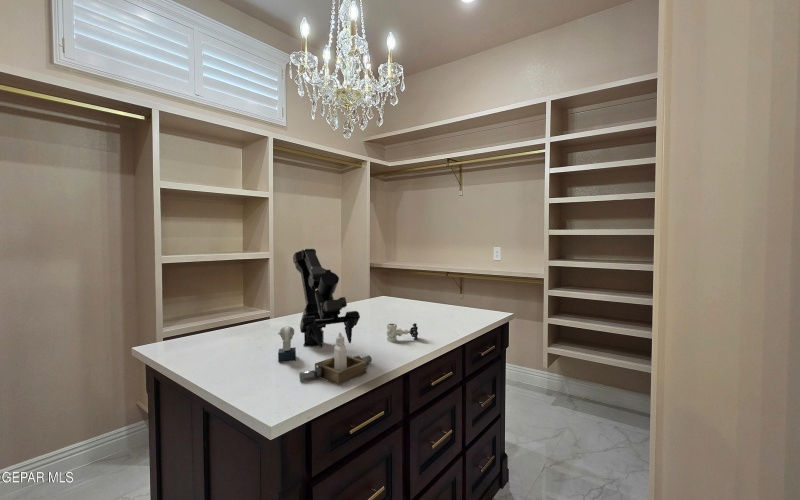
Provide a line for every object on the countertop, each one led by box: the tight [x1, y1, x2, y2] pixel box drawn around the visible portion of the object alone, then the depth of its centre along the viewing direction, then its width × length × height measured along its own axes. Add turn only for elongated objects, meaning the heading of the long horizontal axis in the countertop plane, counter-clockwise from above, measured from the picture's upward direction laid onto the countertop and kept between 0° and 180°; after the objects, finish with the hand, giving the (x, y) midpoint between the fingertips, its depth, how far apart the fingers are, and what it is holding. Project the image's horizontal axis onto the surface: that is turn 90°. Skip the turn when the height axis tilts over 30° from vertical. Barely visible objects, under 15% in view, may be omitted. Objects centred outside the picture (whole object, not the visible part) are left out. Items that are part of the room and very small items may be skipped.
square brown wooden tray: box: [314, 355, 368, 386], centre depth 106 cm, size 11×11×4 cm
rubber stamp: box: [277, 325, 297, 363], centre depth 118 cm, size 6×8×11 cm
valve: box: [386, 322, 419, 343], centre depth 139 cm, size 7×7×12 cm
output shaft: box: [298, 365, 323, 382], centre depth 102 cm, size 6×4×4 cm, turn 114°
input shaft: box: [353, 354, 373, 365], centre depth 112 cm, size 6×4×4 cm, turn 140°
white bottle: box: [333, 332, 347, 371], centre depth 105 cm, size 4×6×12 cm
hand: (336, 344), depth 109 cm, fingers open, 9 cm apart
